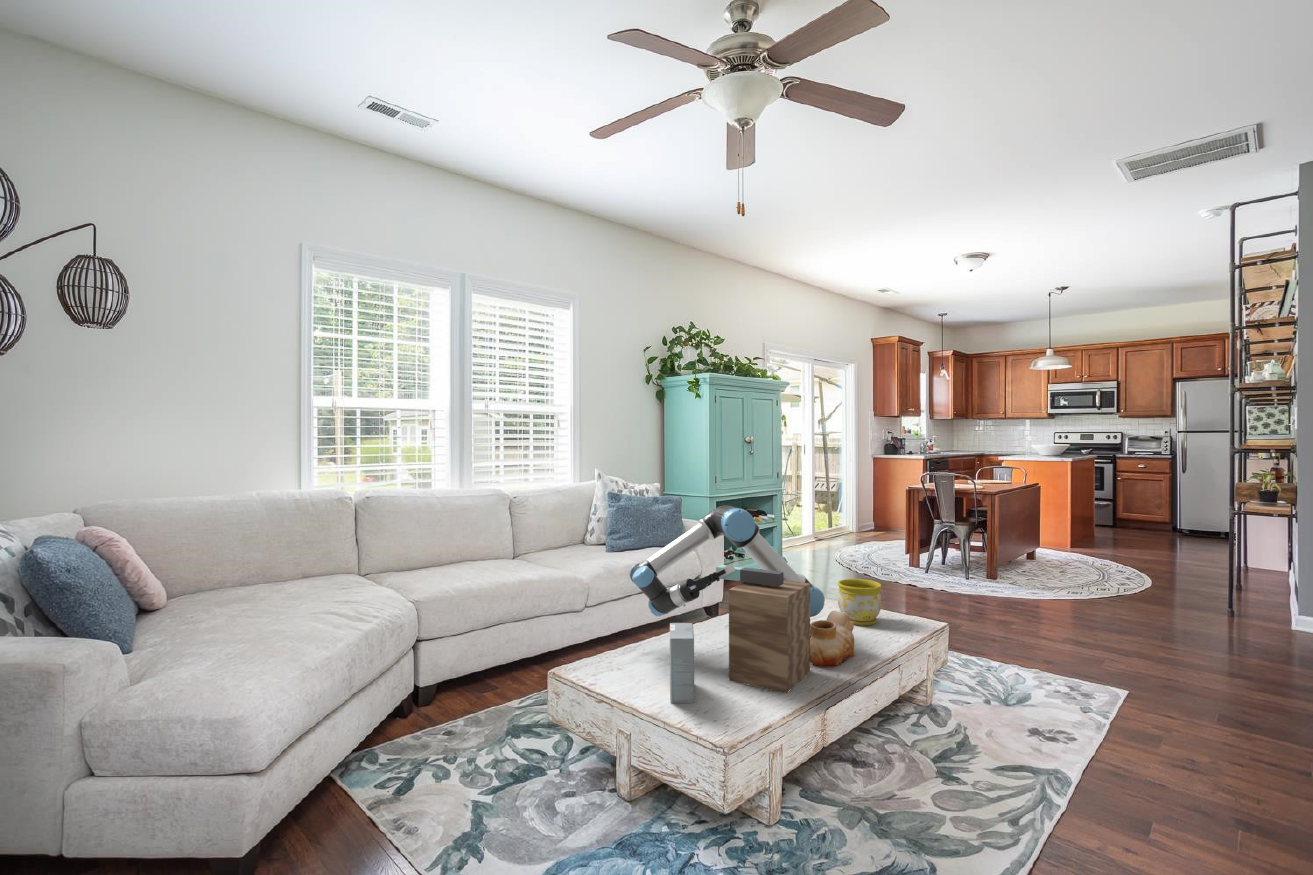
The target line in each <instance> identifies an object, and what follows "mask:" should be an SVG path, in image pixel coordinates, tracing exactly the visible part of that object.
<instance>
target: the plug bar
mask: <svg viewBox="0 0 1313 875" xmlns="http://www.w3.org/2000/svg"><path fill="white" fill-rule="evenodd" d="M727 565H728V564H727ZM727 565H726V564H720V565H718V566H716V568H715V570H716V571H718V570H720V569H722V568H724V567H726V566H727ZM734 568H735V570H736V571H734V572H732V573H730V574H728V575H726V576H724V577H722V578H719V579H720V580H728V581H735V582H741V583H743V582H749V583H757V584H765V585H772V586H781V585H782V584H784V578H783V572H780V571H771V570H762V569H761V568H751V567H744V566H741V567H736V566H734ZM716 571H715V572H716ZM716 573H717V572H716Z"/></svg>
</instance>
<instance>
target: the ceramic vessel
mask: <svg viewBox="0 0 1313 875" xmlns="http://www.w3.org/2000/svg"><path fill="white" fill-rule="evenodd" d="M854 626H855V625H853V623H852V622H851V621H850V620H849V616H848V614H847V613H845V612H841V611H837V610H832V611H831V612H829V614H828V615H827V618H826V619H825V620H824V619H822V620H821V619H820V620H815V621H813V622H810V664H812V665H811V666H813V667H817V668H827V667H829V668H830V667H831V668H832V667H833V668H835V667H838V666H841V665H842V664H843V663H845V661H846V660H848V659H851V658H853V657H855V651H854V649H855V635H854V633H853V630H854ZM841 663H842V664H841Z"/></svg>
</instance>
